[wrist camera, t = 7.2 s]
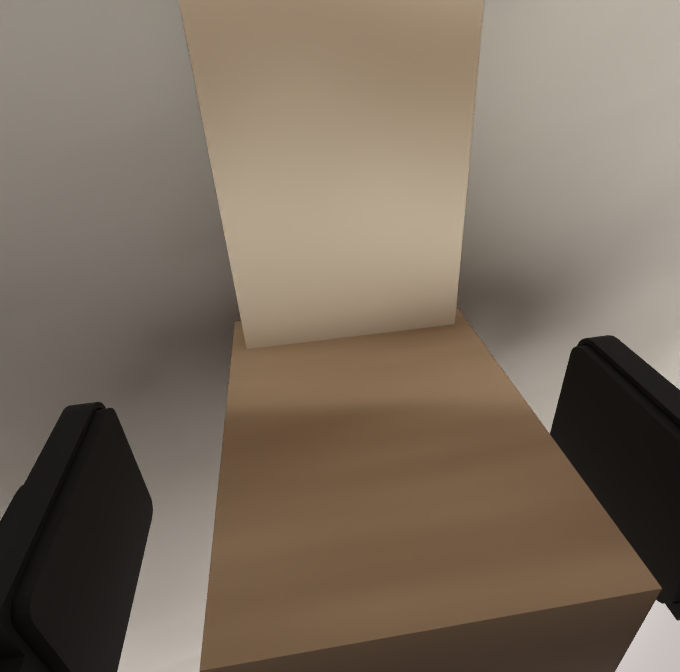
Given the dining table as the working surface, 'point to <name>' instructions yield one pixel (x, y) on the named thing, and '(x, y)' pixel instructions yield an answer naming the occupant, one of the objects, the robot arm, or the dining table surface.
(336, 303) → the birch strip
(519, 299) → the dining table surface
